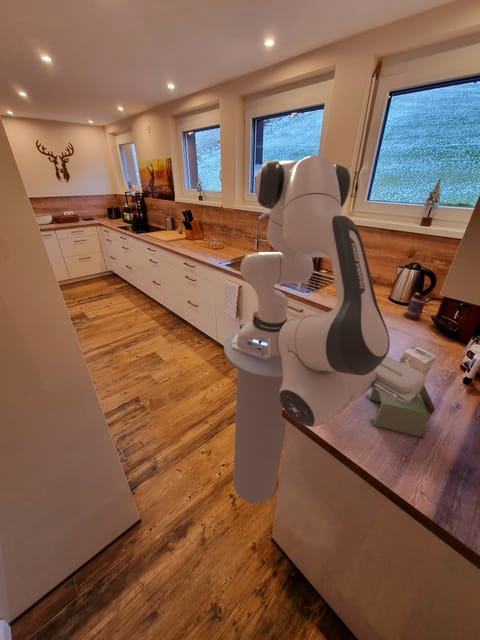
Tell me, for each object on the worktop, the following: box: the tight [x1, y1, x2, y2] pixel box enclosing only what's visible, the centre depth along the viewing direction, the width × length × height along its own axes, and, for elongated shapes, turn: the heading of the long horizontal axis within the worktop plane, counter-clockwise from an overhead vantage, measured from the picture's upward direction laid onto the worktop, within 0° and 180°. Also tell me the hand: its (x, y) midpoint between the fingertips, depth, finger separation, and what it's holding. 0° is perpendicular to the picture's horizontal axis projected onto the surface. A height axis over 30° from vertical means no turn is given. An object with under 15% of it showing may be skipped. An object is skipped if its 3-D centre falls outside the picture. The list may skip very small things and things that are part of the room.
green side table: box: [368, 385, 436, 437], centre depth 78 cm, size 12×12×11 cm
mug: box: [404, 292, 427, 321], centre depth 138 cm, size 10×7×12 cm
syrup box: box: [401, 345, 437, 399], centre depth 72 cm, size 6×6×14 cm
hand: (384, 349), depth 58 cm, fingers open, 8 cm apart
